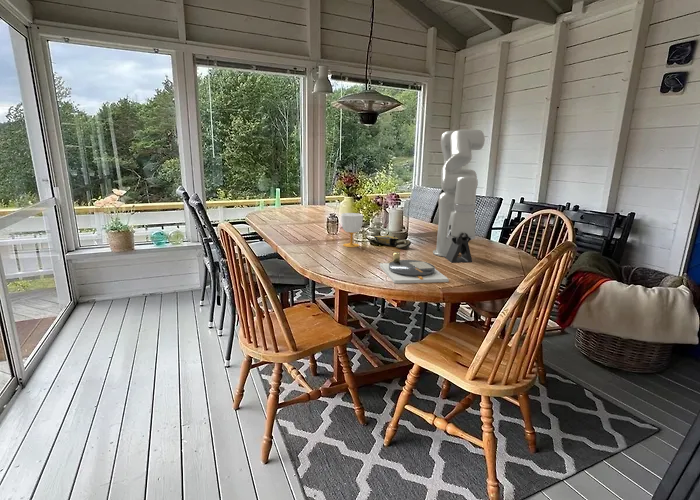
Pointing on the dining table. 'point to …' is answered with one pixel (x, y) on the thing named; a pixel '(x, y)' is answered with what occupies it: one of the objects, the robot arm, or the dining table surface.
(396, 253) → the disc
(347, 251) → the dining table surface
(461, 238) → the dark grey a-frame stand
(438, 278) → the base
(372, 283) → the dining table surface
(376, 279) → the dining table surface
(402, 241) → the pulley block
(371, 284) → the dining table surface
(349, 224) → the cup
